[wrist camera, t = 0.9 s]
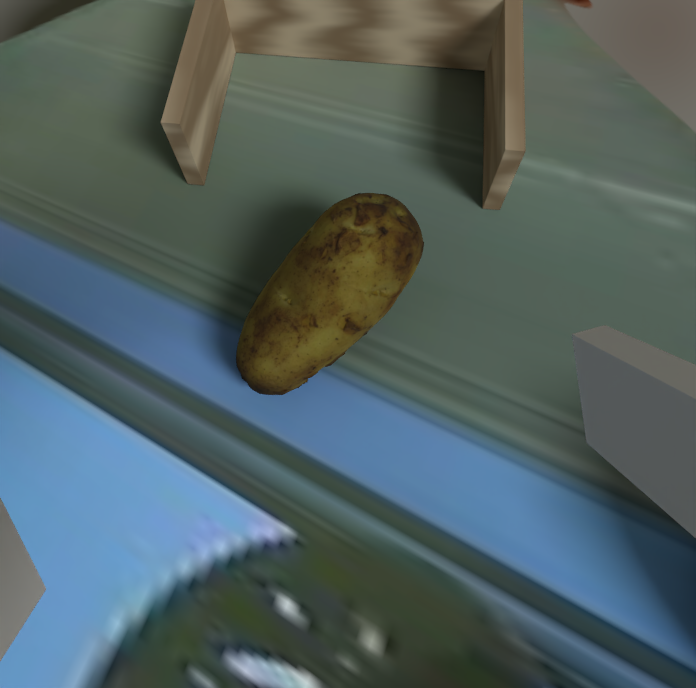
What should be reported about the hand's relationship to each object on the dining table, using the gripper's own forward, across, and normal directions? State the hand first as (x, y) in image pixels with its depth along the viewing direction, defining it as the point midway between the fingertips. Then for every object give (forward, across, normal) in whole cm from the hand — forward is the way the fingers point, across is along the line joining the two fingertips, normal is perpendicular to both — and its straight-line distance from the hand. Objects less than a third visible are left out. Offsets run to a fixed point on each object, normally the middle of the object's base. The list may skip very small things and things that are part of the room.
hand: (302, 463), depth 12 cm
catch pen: (+33, +6, +9) cm, 35 cm away
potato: (+24, +1, -3) cm, 24 cm away
